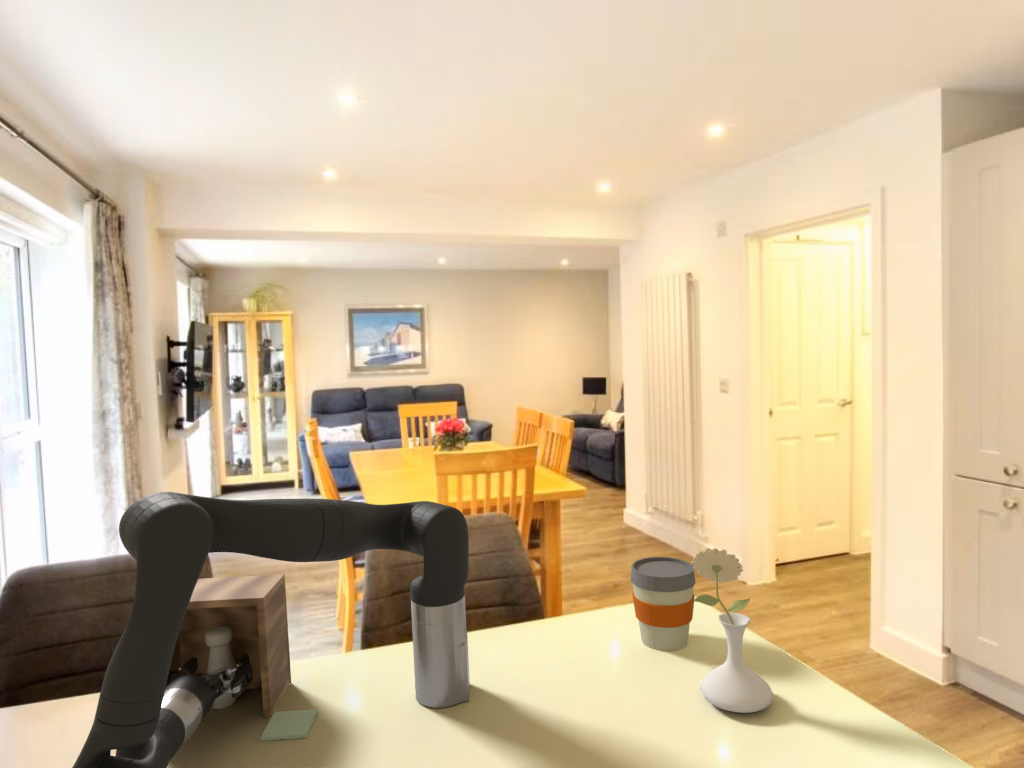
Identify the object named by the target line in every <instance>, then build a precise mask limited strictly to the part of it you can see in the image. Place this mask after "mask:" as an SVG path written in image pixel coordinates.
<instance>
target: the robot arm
mask: <svg viewBox="0 0 1024 768" xmlns="http://www.w3.org/2000/svg"><path fill="white" fill-rule="evenodd" d="M118 533H119V537H120V542H121V543H122V545H123V547H124V548H125V550H126V551H127V552H128V554H129V555H130V556H131V557H132V558H133V559H134V560H135V561H136V576H135V588H134V589H135V590H134V597H133V602H132V606H131V610H130V613H129V617H128V620H127V624H126V625H125V628H124V631H123V632H122V634H121V636H120V639H119V640H118V643H117V645H116V647H115V648H114V650H113V653H112V655H111V657H110V660H109V663H108V665H107V668H106V671H105V674H104V677H103V681H102V685H101V688H100V693H99V697H98V702H97V707H96V710H95V715H94V719H93V723H92V726H91V728H90V730H89V732H88V735H87V738H86V740H85V742H84V744H83V745H82V748H81V750H80V752H79V755H78V756H77V758H76V760H75V762H74V764H73V765H72V767H71V768H167V767H168V765H169V763H170V762H171V760H172V759H173V758H174V756H175V755H176V754H177V752H178V751H179V750H180V749H181V747H182V746H183V745H185V743H186V742H187V741H188V740H190V738H191V737H192V736H193V734H194V733H195V731H196V730H197V729H198V728H199V726H200V725H201V724H202V723H203V721H205V718H206V717H207V715H208V714H209V713H210V712H211V710H212V709H213V708H212V706H213V704H214V701H215V699H216V698H218V697H220V696H221V695H222V694H223V693H232V698H239V697H240V696H241V695H242V694H243V692H244V691H245V690H247V689H246V687H247V686H248V685H249V684H250V682H251V681H252V680H253V678H252V665H251V664H250V661H249V657H248V655H247V654H242V656H241V657H240V658H239V659H238V661H237V662H236V663H235V665H233V666H231V667H229V668H227V667H222V668H220V669H218V670H215V671H213V672H211V673H209V672H208V673H205V674H203V673H196V674H194V675H193V673H194V672H195V671H196V670H197V668H198V661H197V657H192V658H191V659H190V660H188V661H187V662H186V663H185V664H184V665H183V666H182V667H178V668H177V669H176V671H172V672H171V669H170V665H171V661H172V657H173V653H174V649H175V645H176V642H177V638H178V635H179V632H180V628H181V625H182V622H183V619H184V616H185V613H186V611H187V608H188V605H189V602H190V599H191V596H192V594H193V591H194V588H195V586H196V583H197V581H198V579H200V575H201V573H202V571H203V568H204V565H205V563H206V560H207V558H208V555H209V554H213V553H233V554H234V553H235V554H242V555H243V554H244V555H248V556H253V557H257V558H258V557H259V558H263V559H270V560H276V561H281V562H282V561H283V562H291V563H319V562H320V563H321V562H334V561H336V562H337V561H341V560H346V559H349V558H351V557H354V556H357V555H359V554H362V553H365V552H367V551H372V550H391V551H393V550H394V551H401V552H408V553H412V554H415V555H418V556H420V557H423V571H422V573H423V574H421V575H419V576H417V577H416V578H414V579H412V582H411V583H410V586H409V587H410V591H409V592H410V607H411V609H410V611H411V627H412V628H411V631H412V649H413V650H412V651H413V652H412V653H413V671H414V689H415V698H416V701H417V703H419V704H420V705H422V706H426V707H429V708H435V709H436V708H438V709H440V708H449V707H451V706H455V705H457V704H460V703H462V702H468V701H469V699H470V665H469V664H470V663H469V641H468V638H469V637H468V631H467V617H466V595H465V594H466V593H465V592H466V591H465V590H466V589H465V588H466V587H465V586H466V584H467V580H468V577H469V569H470V568H469V566H470V565H469V564H470V563H469V556H470V555H469V550H470V547H469V543H470V542H469V541H470V539H469V537H470V536H469V528H468V523H467V520H466V517H465V515H464V514H463V512H462V511H461V510H460V509H457V508H456V507H454V506H451V505H448V504H447V505H446V504H442V503H438V502H434V501H429V500H423V501H422V500H421V501H420V500H419V501H411V502H410V501H409V502H403V503H390V504H373V503H366V502H361V501H355V500H354V501H353V500H345V499H343V500H342V499H332V498H263V499H261V498H260V499H259V498H258V499H243V500H242V499H227V498H217V497H207V496H200V495H195V494H194V495H193V494H187V493H181V492H174V491H159V492H155V493H151V494H148V495H145V496H143V497H141V498H139V499H138V500H136V501H134V502H133V503H132V504H131V505H129V507H127V509H126V510H125V511H124V513H123V514H122V515H121V518H120V521H119V524H118ZM234 671H235V677H232V678H231V673H232V672H234ZM220 675H222V679H223V682H222V680H221V679H220V677H219V676H220ZM112 750H113V751H114V750H115V755H111V754H112V753H111V751H112Z"/></svg>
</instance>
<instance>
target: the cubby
mask: <svg viewBox="0 0 1024 768" xmlns="http://www.w3.org/2000/svg"><path fill="white" fill-rule="evenodd" d="M286 593H287V592H286V577H285V574H284V573H283V574H282V573H281V574H280V573H278V574H263V575H262V574H261V575H246V576H245V575H240V576H224V577H209V578H208V577H206V578H198V581H197V583H196V586H195V588H194V591H193V594H192V596H191V599H190V602H189V605H188V608H187V611H186V613H185V616H184V619H183V622H182V625H181V628H180V632H179V635H178V638H177V642H176V645H175V649H174V653H173V657H172V661H171V665H170V669H171V672H172V671H176V669H177V668H178V667H182V666H183V665H184V664H185V663H186V662H187V661H188V660H190V659H191V658H192V657H197V661H198V668H197V670H196V671H195V672H194V673H193V675H194V674H196V673H203V674H205V673H207V667H208V660H209V652H210V647H208V646H207V645H206V642H205V636H206V633H207V632H208V631H209V630H211V629H213V628H216V627H220V626H226V627H229V628H230V629H231V630H232V632H233V638H232V641H231V642H230V646H231V650H232V653H233V657H234V661H235V663H236V662H237V661H238V659H239V658H240V657H241V656H242V654H247V655H248V657H249V661H250V664H251V665H252V678H253V680H252V681H251V682H250V684H249V685H248V686H247V687H246V689H245V690H249V689H248V688H252V689H258V688H257V687H262V688H261V692H262V694H261V695H262V709H263V710H262V711H263V718H264V717H267V718H272V717H271V716H273V715H272V714H274V713H275V712H276V710H277V708H278V706H279V705H280V703H281V701H282V700H281V698H282V697H283V698H284V696H285V695H286V693H287V691H288V689H289V688H288V687H290V686H289V684H290V683H291V684H292V673H291V670H292V669H291V658H290V643H289V641H290V640H289V639H290V638H289V626H288V625H289V623H288V609H287V594H286ZM291 684H290V685H291ZM287 688H288V689H287ZM286 690H287V691H286ZM285 692H286V693H285ZM283 695H284V696H283ZM283 698H282V699H283ZM280 700H281V701H280ZM279 702H280V703H279ZM278 704H279V705H278ZM277 705H278V706H277ZM276 707H277V708H276ZM275 709H276V710H275ZM274 711H275V712H274ZM273 712H274V713H273Z"/></svg>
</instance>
